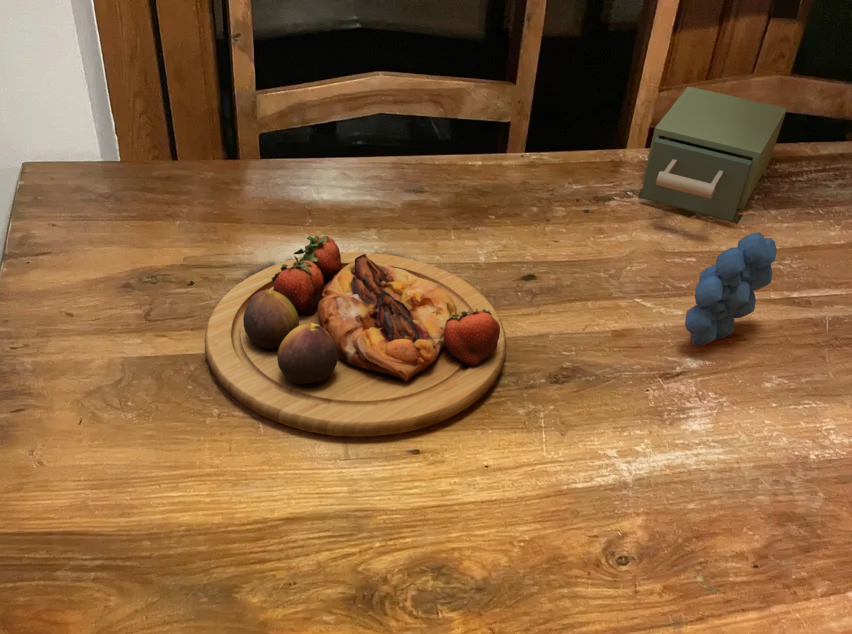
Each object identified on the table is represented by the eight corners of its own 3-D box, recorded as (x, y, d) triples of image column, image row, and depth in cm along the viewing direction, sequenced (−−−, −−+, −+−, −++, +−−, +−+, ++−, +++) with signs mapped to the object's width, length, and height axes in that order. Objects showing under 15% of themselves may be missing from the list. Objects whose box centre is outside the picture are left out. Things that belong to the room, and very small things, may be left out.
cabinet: (738, 223, 122) (761, 153, 115) (638, 197, 126) (654, 127, 119) (764, 176, 131) (787, 108, 124) (670, 153, 135) (688, 85, 128)
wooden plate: (556, 329, 104) (569, 261, 98) (399, 487, 87) (403, 416, 80) (325, 241, 115) (323, 174, 109) (143, 365, 97) (128, 294, 91)
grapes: (720, 304, 109) (753, 205, 100) (765, 332, 106) (804, 231, 96) (650, 335, 104) (678, 234, 95) (695, 366, 101) (729, 263, 92)
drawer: (720, 242, 117) (738, 185, 111) (625, 217, 120) (638, 160, 114) (758, 176, 129) (776, 121, 123) (671, 155, 132) (684, 101, 127)
